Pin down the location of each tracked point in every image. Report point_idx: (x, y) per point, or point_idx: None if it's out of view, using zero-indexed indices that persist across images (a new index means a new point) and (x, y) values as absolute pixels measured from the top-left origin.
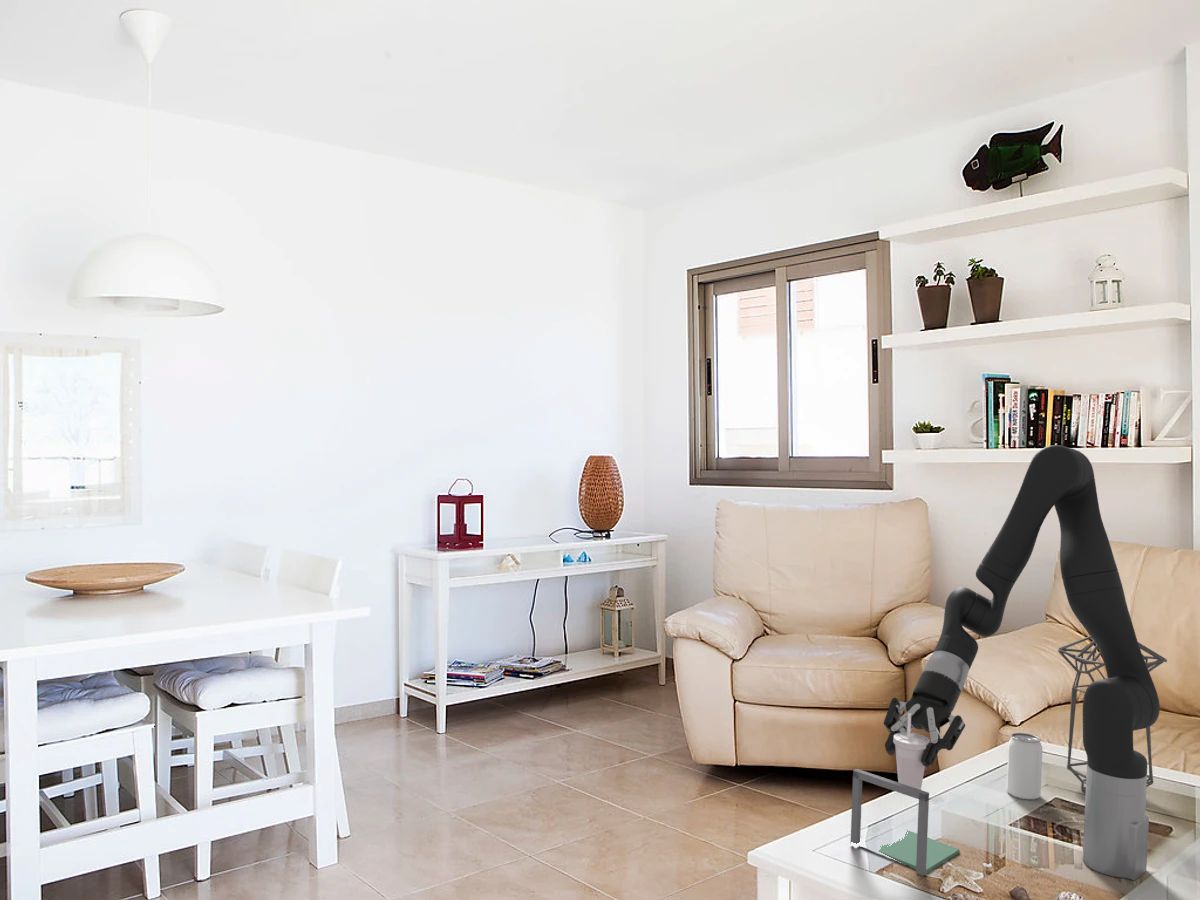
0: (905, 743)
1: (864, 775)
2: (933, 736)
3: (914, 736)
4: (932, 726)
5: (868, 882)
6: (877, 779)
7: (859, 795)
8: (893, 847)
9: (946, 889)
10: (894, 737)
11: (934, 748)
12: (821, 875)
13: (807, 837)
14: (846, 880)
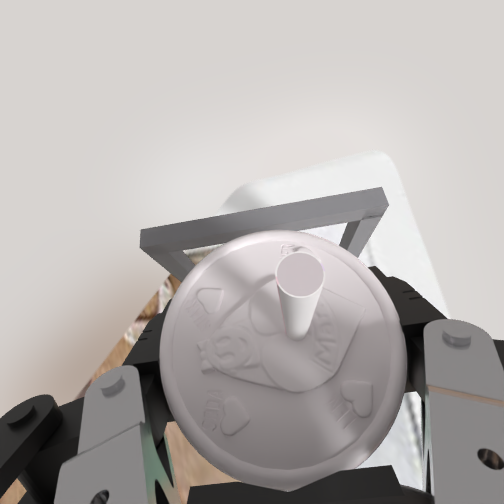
0: (244, 236)
1: (338, 196)
2: (115, 405)
3: (276, 370)
4: (94, 465)
5: (242, 211)
6: (293, 203)
7: (347, 233)
8: None
9: (162, 288)
10: (343, 250)
11: (126, 362)
12: (290, 174)
13: (403, 235)
14: (262, 192)
